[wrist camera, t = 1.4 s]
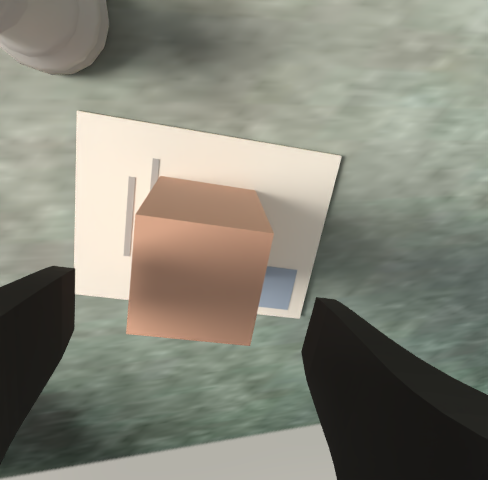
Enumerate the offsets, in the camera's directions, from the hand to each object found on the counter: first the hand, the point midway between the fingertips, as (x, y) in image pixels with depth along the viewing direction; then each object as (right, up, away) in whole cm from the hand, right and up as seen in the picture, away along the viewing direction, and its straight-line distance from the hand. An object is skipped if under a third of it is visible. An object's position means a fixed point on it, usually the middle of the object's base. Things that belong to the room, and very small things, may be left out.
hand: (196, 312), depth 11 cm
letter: (-1, +3, +8) cm, 8 cm away
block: (-1, +3, +7) cm, 8 cm away
